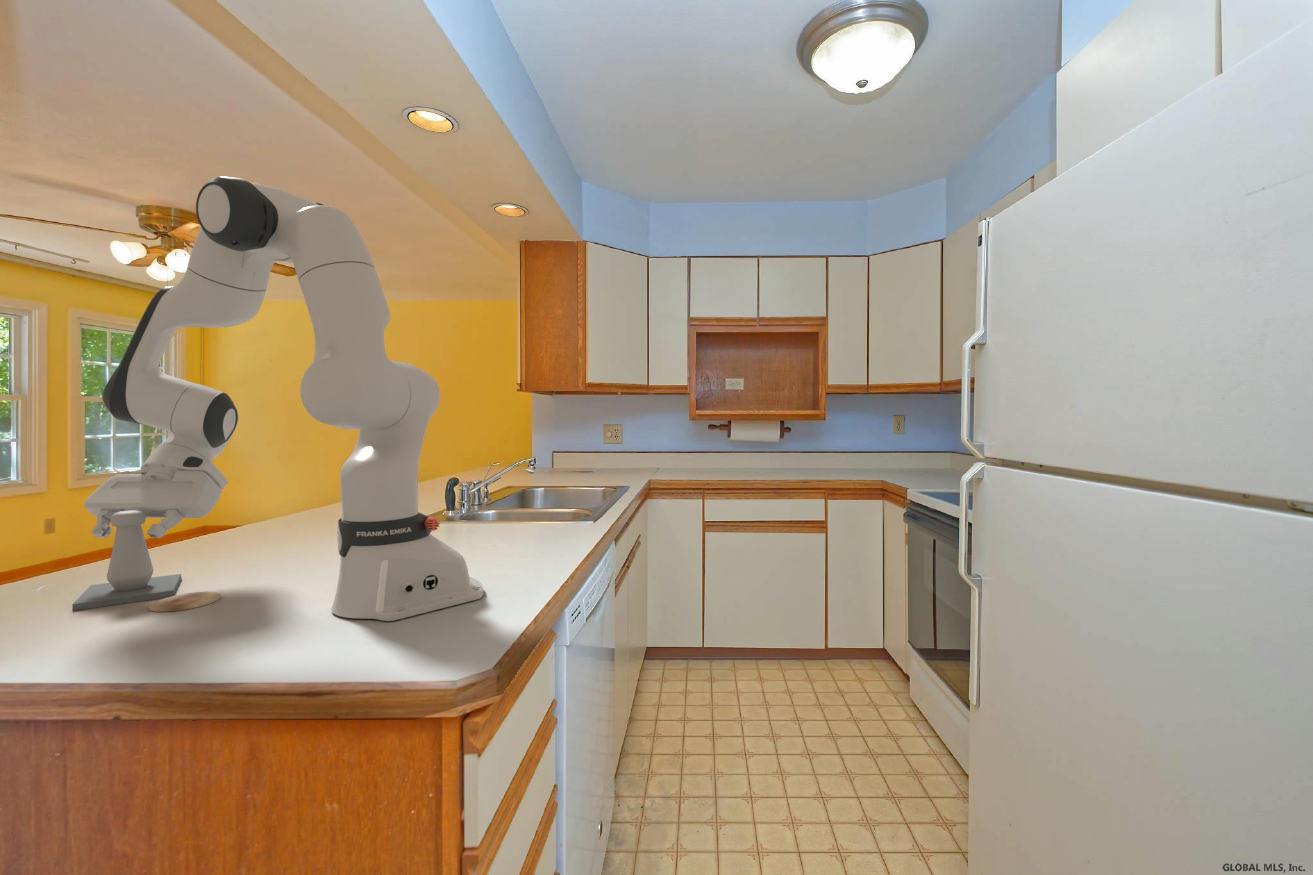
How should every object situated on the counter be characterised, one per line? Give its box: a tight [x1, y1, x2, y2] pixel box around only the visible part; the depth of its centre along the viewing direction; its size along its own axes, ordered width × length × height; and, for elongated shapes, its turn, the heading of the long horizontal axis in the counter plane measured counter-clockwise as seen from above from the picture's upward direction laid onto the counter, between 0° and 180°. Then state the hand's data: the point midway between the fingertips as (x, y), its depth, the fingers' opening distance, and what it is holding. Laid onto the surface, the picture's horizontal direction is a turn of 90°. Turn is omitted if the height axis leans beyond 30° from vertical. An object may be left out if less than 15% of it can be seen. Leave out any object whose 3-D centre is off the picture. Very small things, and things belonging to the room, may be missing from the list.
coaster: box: [148, 591, 222, 613], centre depth 93 cm, size 9×9×1 cm
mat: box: [71, 573, 182, 611], centre depth 97 cm, size 12×12×1 cm
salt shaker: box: [106, 510, 154, 591], centre depth 97 cm, size 6×6×13 cm
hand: (125, 535), depth 96 cm, fingers open, 8 cm apart
